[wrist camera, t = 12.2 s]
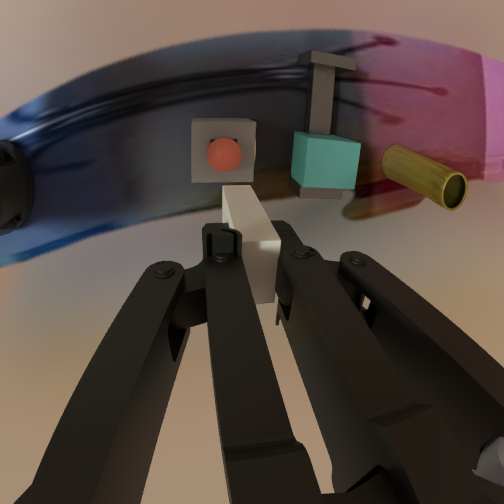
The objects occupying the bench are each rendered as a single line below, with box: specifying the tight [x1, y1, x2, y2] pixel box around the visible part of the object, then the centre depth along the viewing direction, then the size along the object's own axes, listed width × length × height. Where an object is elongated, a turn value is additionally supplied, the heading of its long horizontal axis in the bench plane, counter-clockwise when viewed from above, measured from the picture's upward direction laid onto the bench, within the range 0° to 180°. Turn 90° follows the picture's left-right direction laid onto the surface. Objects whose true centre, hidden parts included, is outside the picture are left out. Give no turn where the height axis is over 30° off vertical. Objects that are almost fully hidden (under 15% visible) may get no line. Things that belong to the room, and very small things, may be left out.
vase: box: [382, 145, 467, 211], centre depth 36 cm, size 6×6×14 cm
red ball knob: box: [207, 137, 242, 172], centre depth 32 cm, size 4×4×5 cm
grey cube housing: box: [191, 118, 256, 183], centre depth 35 cm, size 7×7×7 cm
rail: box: [289, 50, 356, 199], centre depth 36 cm, size 19×6×5 cm, turn 177°
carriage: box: [291, 131, 361, 189], centre depth 37 cm, size 6×7×7 cm
